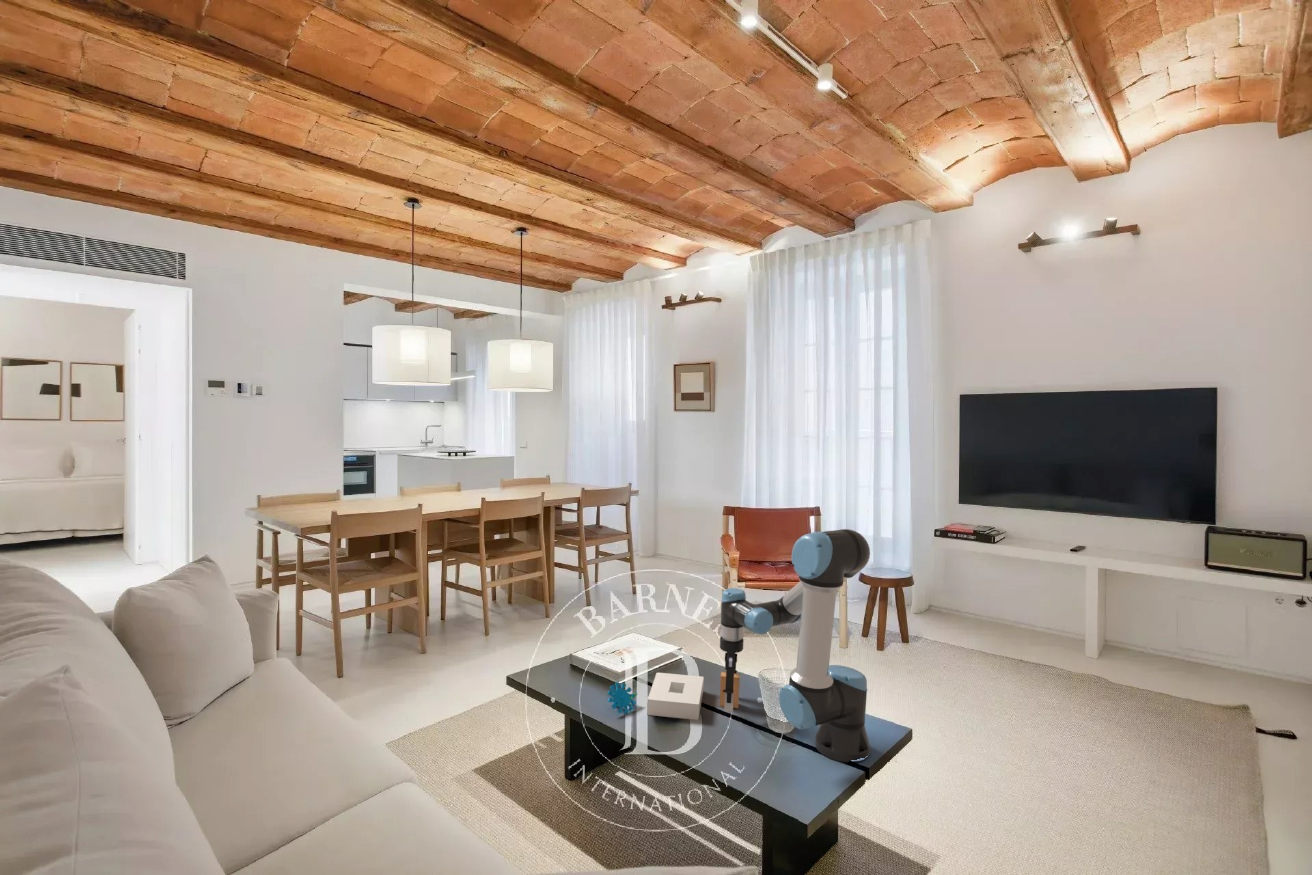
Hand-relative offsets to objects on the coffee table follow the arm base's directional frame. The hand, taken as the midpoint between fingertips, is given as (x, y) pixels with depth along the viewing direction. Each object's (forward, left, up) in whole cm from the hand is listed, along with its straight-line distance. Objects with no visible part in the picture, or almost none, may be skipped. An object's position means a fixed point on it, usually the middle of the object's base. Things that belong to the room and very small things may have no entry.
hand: (729, 702), depth 216 cm
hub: (-2, +17, -1) cm, 17 cm away
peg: (0, 0, -1) cm, 1 cm away
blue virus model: (-10, +33, -1) cm, 35 cm away
